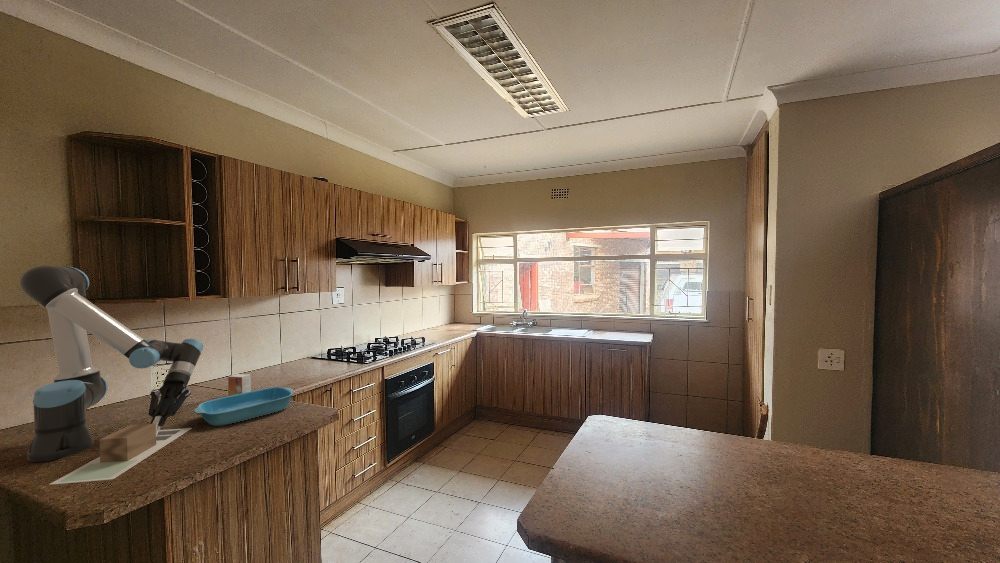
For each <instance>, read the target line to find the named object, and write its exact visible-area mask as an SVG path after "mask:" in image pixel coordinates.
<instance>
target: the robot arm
mask: <svg viewBox="0 0 1000 563" xmlns="http://www.w3.org/2000/svg"><path fill="white" fill-rule="evenodd" d="M89 286H90V280H89V277H88V275H87V274H86V273H85V272H84V271H82V270H80V269H79V268H76V267H74V266H69V265H38V266H34V267H31V268H29V269H28V270H25V272H23V273H22V275H21V276H20V278H19V287H20V289H21V291H22V292H23V293H24V294H25V295H26V296H28V297H29V298H30V299H32V300H33V301H34V302H36V303H37V304H38V305H39V306H41V307H43V308H45V309H46V310H47V316H48V321H49V326H50V331H51V337H52V338H51V339H52V342H53V347H54V353H55V358H56V364H57V369H58V373H57V375H56V376H55V377H53V382H52V383H48V384H45V385H43V386H40V387H39V388H37V389H36V390H35V391H34V393H33V399H32V404H33V422H34V426H33V427H34V436H33V439H32V441H31V443H30V446H29V449H28V451H27V452H26V458H27V459H26V460H27V462H29V463H42V462H43V463H44V462H49V461H55V460H59V459H62V458H64V457H68V456H72V455H74V454H77V453H80V452H83V451H85V450H88V449H89V448H90V447H93V445H94V442H95V441H94V440H95V438H94V437H93V435H92V434H91V431H90V430H89V427H88V426H87V415H86V414H87V411H86V410H87V409H89V408H91V407H92V406H95V405H97V403H99V402H100V401H101V400H103V398H104V397H105V396H106V394H107V393H108V388H109V386H108V383H107V380H106V379H105V377H102V376H101V371H100V369H99V368H97V367H95V366H94V365H93V360H92V356H91V349H90V343H89V338H88V333H90V334H91V335H93V336H94V337H96V338H97V339H99V340H100V341H102V342H104V344H106V345H107V346H109V347H111V348H112V349H114V350H115V351H117V352H118V353H120V354H121V355H123V356H124V357H126V358H128V361H129V365H131V366H132V367H133V368H136V369H148V368H150V367H153V366H154V365H156V364H157V363H158V362H160V361H163V362H164V361H165V362H172V363H171V365H170V367H169V369H168V372H167V374H166V376H165V377H164V380H163V384H162V385H161V387H159V389H157V390H155V391H150V397H151V398H150V402H149V403H150V404H149V408H148V413H147V414H148V415H149V416H150V417H151V421H150V422H149V424H156V436H157V434H158V432H159V430H161V427H163V426H164V425H165V423H166V421H167V420H168V418H169V417H174V416H175V415H176V413H177V412H178V411H179V409H180V408H181V406H182V404H183V403H184V402H185V401H186V399H187V398H188V397H189V396H191V395H192V392H191V391H190V390H189V389H187V386H188V384H189V381H190V379H191V377H192V375H193V372H194V370H195V368H196V365H197V363H198V361H199V359H200V356H201V355H202V351H203V348H204V343H203V342H202V341H201V340H198V339H196V338H186V339H184V340H182V342H180V343H179V342H171V341H163V340H157V339H149V338H148V339H147V338H146V339H145V338H143V337H141V336H140V335H139V334H137V333H136V332H134V331H133V330H131V329H130V328H129V327H127V326H126V325H124V324H122V322H120V321H119V320H117V319H116V318H114V317H112V315H110V314H109V313H107V312H106V311H104V310H103V309H101V308H100V307H98V306H97V305H95V304H93V302H92V301H90V300H88V298H87V294H86V293H87V292H86V291H87V290H88V289H89ZM87 332H88V333H87ZM159 397H160V400H159Z"/></svg>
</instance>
